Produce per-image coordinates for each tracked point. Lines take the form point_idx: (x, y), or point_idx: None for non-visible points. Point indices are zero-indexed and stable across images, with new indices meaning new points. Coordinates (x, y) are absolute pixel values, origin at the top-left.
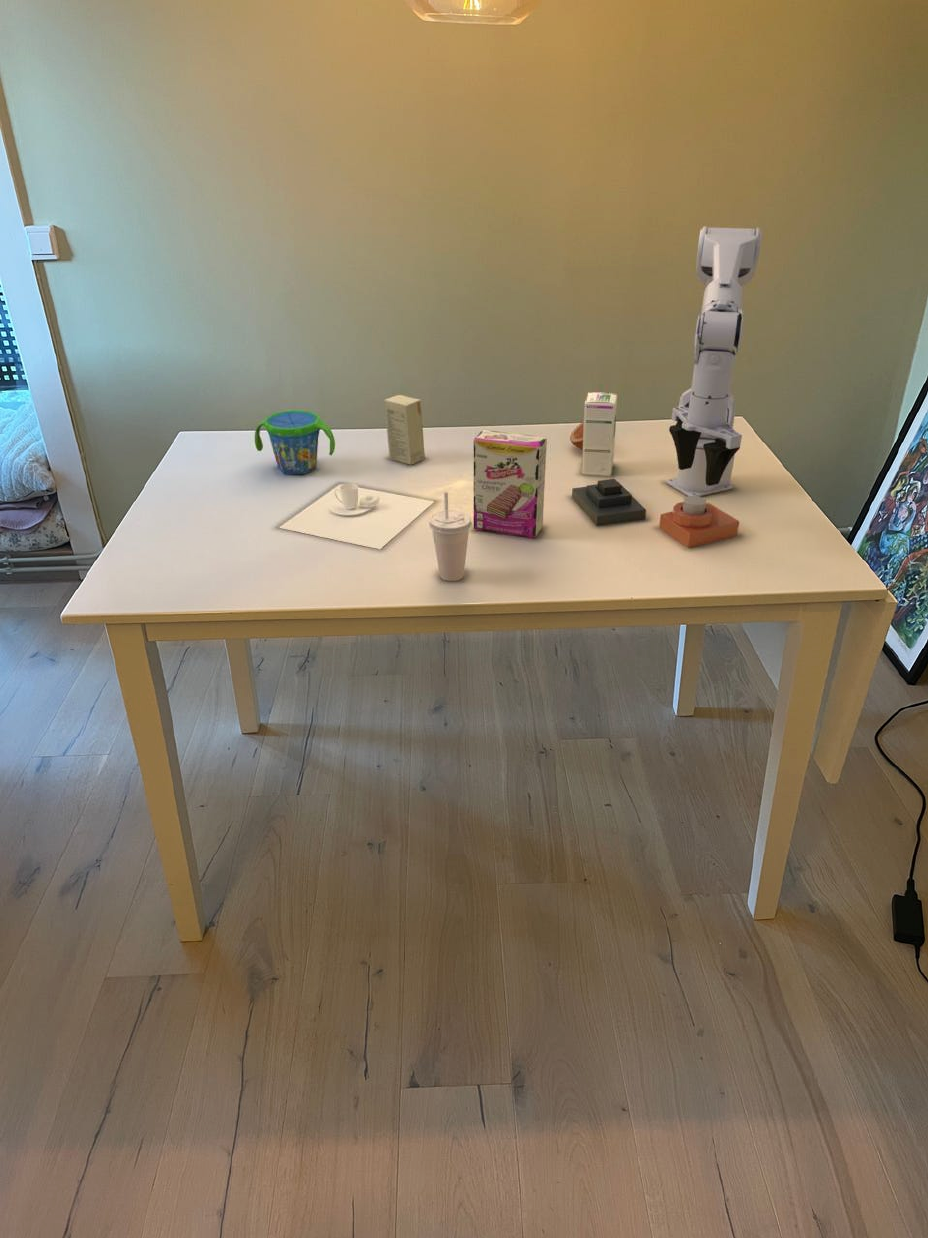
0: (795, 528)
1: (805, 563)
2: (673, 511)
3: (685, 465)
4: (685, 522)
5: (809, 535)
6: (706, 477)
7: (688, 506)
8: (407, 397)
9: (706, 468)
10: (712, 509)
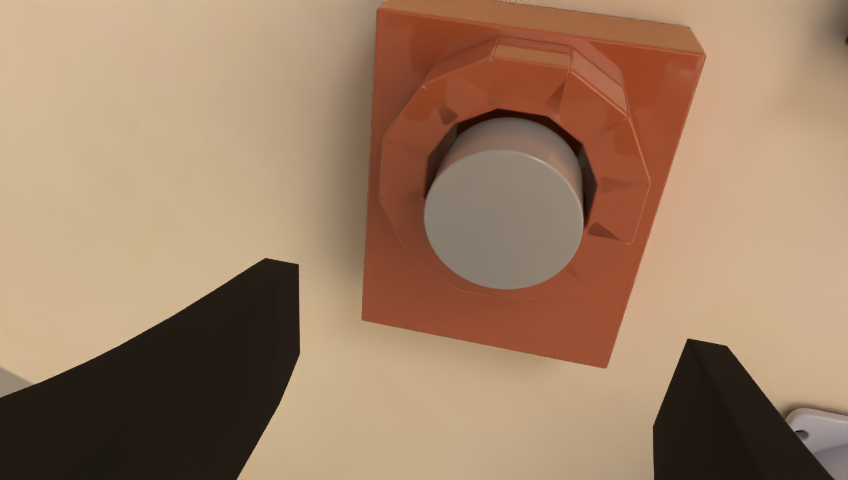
0: (323, 456)
1: (91, 288)
2: (598, 84)
3: (679, 402)
4: (458, 57)
5: (260, 446)
6: (249, 291)
7: (488, 143)
8: None
9: (200, 345)
10: (441, 271)
